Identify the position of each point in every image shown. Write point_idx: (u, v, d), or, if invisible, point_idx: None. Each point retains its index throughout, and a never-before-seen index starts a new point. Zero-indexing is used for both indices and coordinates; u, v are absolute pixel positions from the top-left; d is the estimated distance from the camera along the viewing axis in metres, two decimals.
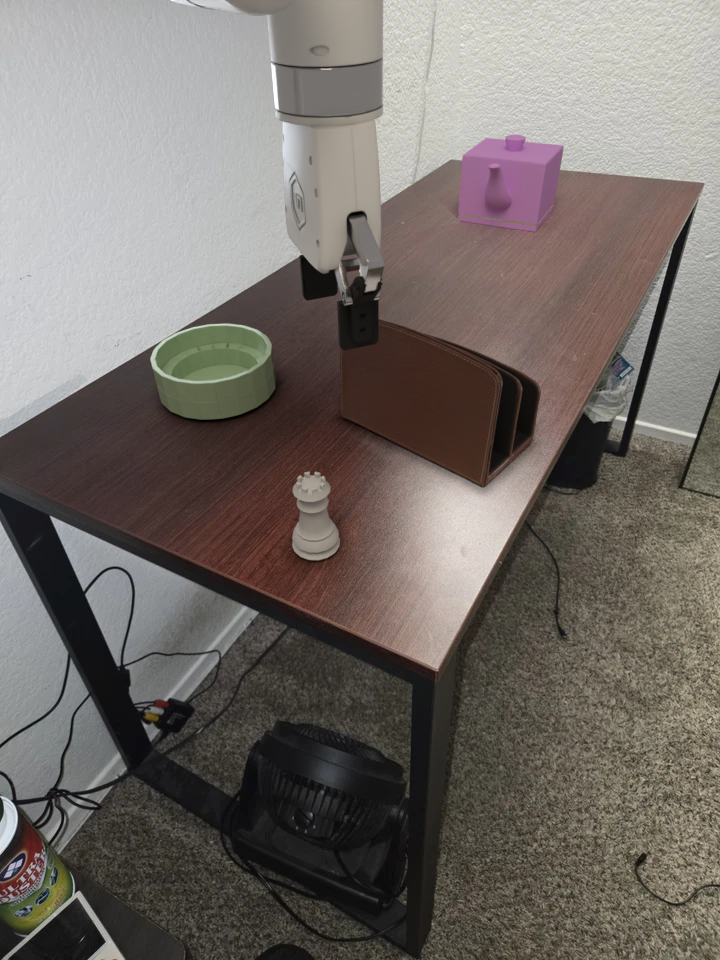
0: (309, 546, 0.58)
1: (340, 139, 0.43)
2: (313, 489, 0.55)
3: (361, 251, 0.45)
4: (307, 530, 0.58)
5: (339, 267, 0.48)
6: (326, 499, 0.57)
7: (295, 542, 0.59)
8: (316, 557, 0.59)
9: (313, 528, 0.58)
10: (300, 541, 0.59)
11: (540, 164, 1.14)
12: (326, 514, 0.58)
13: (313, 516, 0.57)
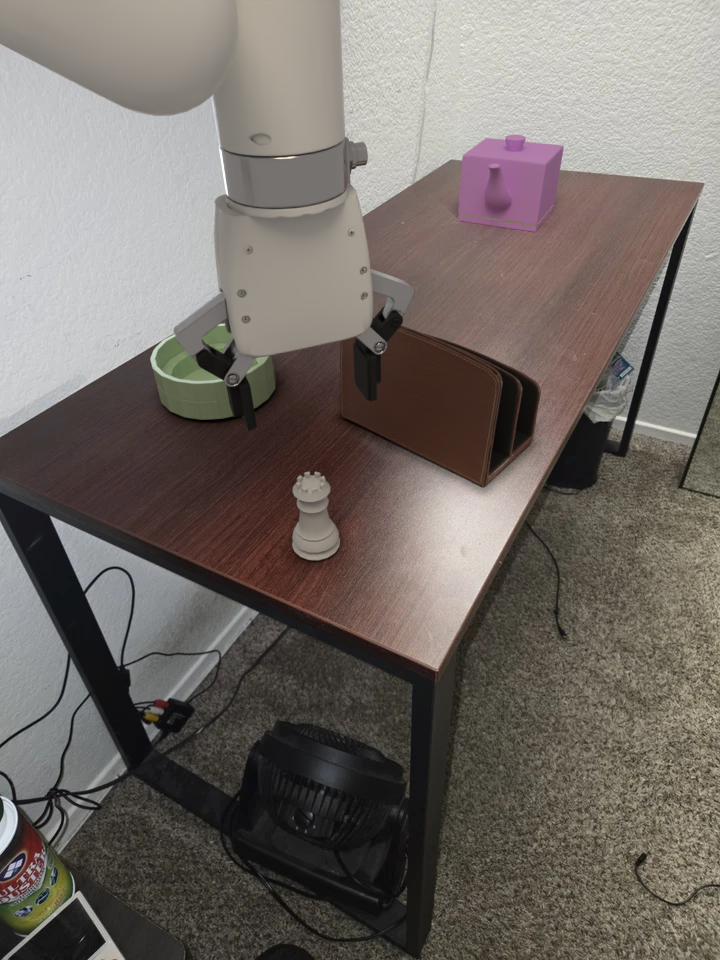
0: (309, 546, 0.58)
1: (214, 214, 0.41)
2: (313, 489, 0.55)
3: None
4: (307, 530, 0.58)
5: None
6: (326, 499, 0.57)
7: (295, 542, 0.59)
8: (316, 557, 0.59)
9: (313, 528, 0.58)
10: (300, 541, 0.59)
11: (540, 164, 1.14)
12: (326, 514, 0.58)
13: (313, 516, 0.57)
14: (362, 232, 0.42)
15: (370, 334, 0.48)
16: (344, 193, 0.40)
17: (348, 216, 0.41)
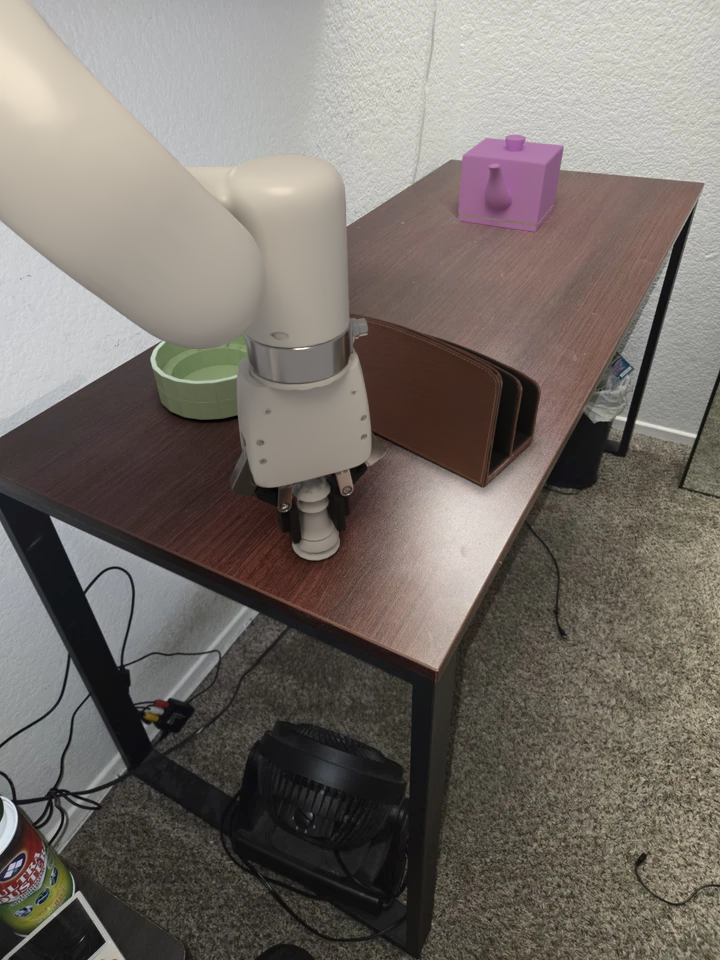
0: (309, 546, 0.58)
1: (238, 377, 0.48)
2: (313, 489, 0.55)
3: None
4: (307, 530, 0.58)
5: None
6: (326, 499, 0.57)
7: None
8: (316, 557, 0.59)
9: (313, 528, 0.58)
10: (300, 541, 0.59)
11: (540, 164, 1.14)
12: (326, 514, 0.58)
13: (313, 516, 0.57)
14: (363, 390, 0.50)
15: (338, 482, 0.55)
16: (348, 364, 0.47)
17: (351, 380, 0.48)
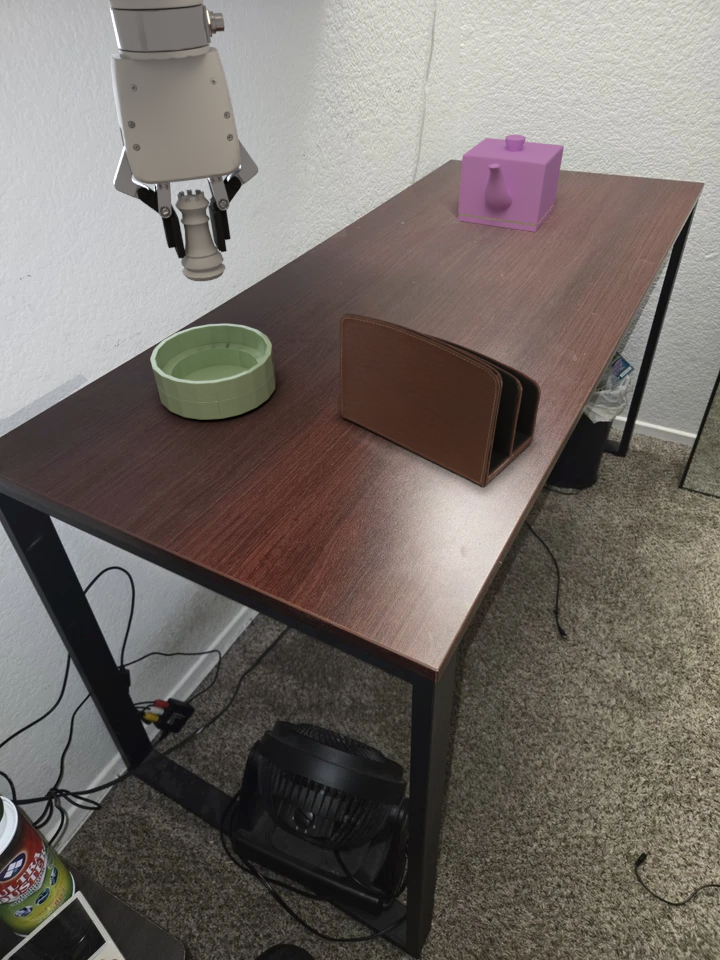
0: (194, 263, 0.66)
1: (111, 64, 0.56)
2: (191, 197, 0.62)
3: None
4: (191, 246, 0.65)
5: None
6: (207, 216, 0.64)
7: (182, 262, 0.66)
8: (201, 276, 0.66)
9: (196, 244, 0.65)
10: (186, 260, 0.66)
11: (540, 164, 1.14)
12: (208, 232, 0.65)
13: (194, 230, 0.64)
14: (222, 82, 0.57)
15: (213, 192, 0.62)
16: (204, 47, 0.55)
17: (209, 67, 0.56)
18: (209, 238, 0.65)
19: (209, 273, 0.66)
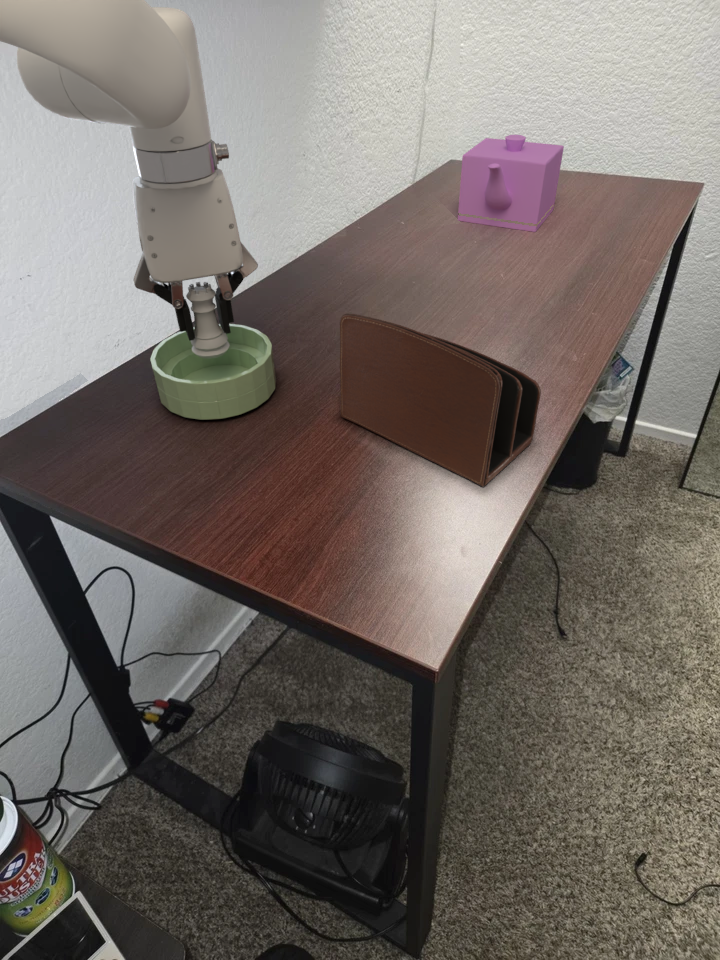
0: (202, 343, 0.75)
1: None
2: (200, 290, 0.72)
3: None
4: (200, 330, 0.75)
5: None
6: (213, 304, 0.74)
7: (192, 342, 0.76)
8: (208, 354, 0.76)
9: (204, 328, 0.75)
10: (195, 340, 0.76)
11: (540, 164, 1.14)
12: (214, 318, 0.75)
13: (203, 316, 0.74)
14: (227, 200, 0.67)
15: (219, 286, 0.72)
16: (212, 175, 0.64)
17: (216, 190, 0.65)
18: (215, 322, 0.75)
19: (215, 351, 0.76)
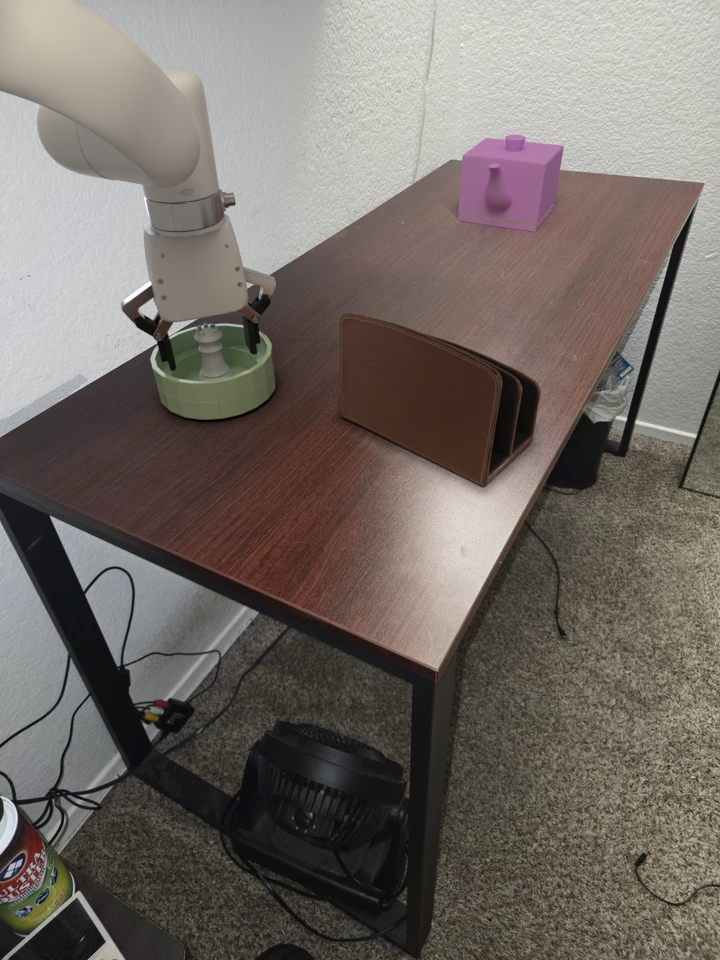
0: None
1: (143, 233, 0.68)
2: (207, 332, 0.75)
3: None
4: (207, 368, 0.78)
5: None
6: (220, 344, 0.78)
7: (199, 380, 0.79)
8: None
9: (211, 367, 0.78)
10: (202, 378, 0.79)
11: (540, 164, 1.14)
12: (221, 357, 0.78)
13: (210, 356, 0.77)
14: (234, 245, 0.70)
15: (248, 309, 0.75)
16: (219, 222, 0.67)
17: (223, 236, 0.68)
18: (222, 361, 0.78)
19: None
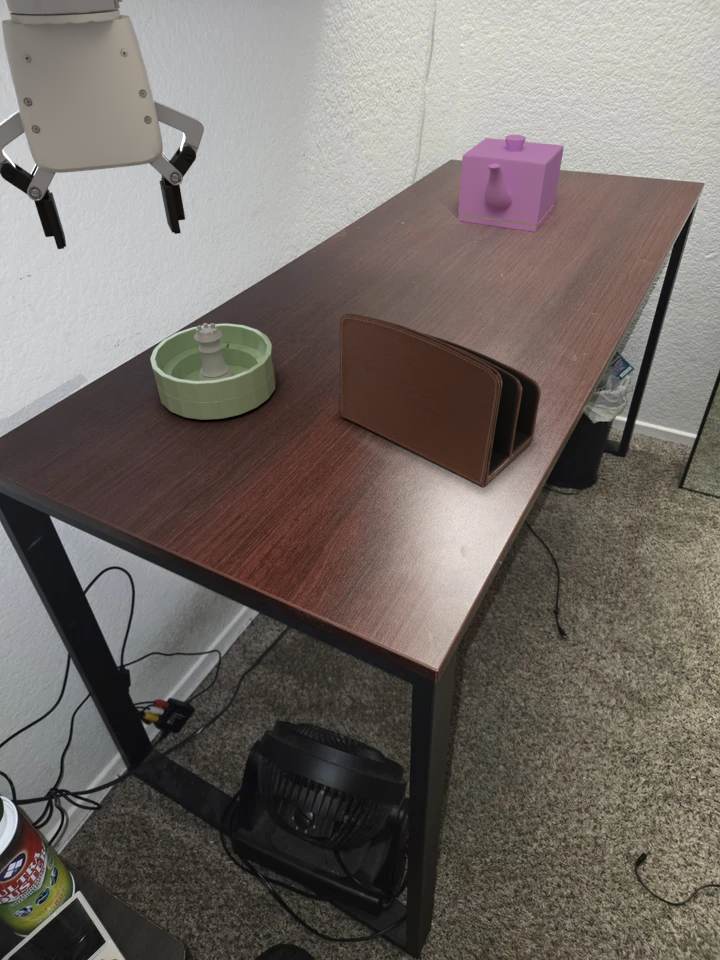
0: None
1: None
2: (207, 332, 0.75)
3: None
4: (207, 368, 0.78)
5: None
6: (220, 344, 0.78)
7: (199, 380, 0.79)
8: None
9: (211, 367, 0.78)
10: (202, 378, 0.79)
11: (540, 164, 1.14)
12: (221, 357, 0.78)
13: (210, 356, 0.77)
14: (136, 55, 0.49)
15: (164, 163, 0.55)
16: (110, 12, 0.47)
17: (118, 36, 0.48)
18: (222, 361, 0.78)
19: None
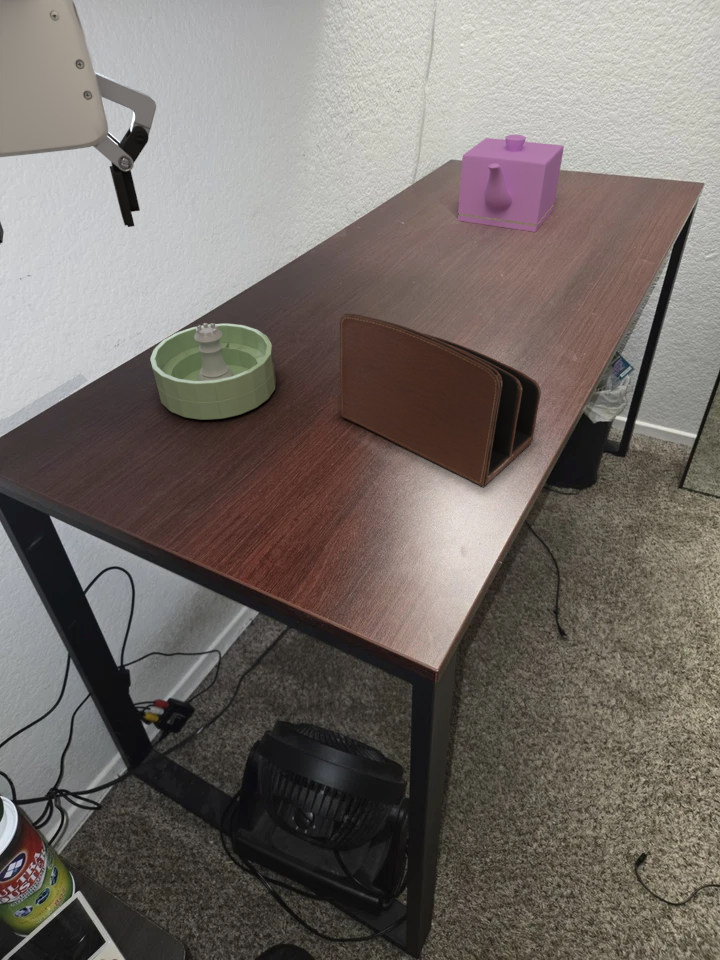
0: None
1: None
2: (207, 332, 0.75)
3: None
4: (207, 368, 0.78)
5: None
6: (220, 344, 0.78)
7: (199, 380, 0.79)
8: None
9: (211, 367, 0.78)
10: (202, 378, 0.79)
11: (540, 164, 1.14)
12: (221, 357, 0.78)
13: (210, 356, 0.77)
14: (69, 18, 0.42)
15: (110, 146, 0.48)
16: None
17: None
18: (222, 361, 0.78)
19: None
